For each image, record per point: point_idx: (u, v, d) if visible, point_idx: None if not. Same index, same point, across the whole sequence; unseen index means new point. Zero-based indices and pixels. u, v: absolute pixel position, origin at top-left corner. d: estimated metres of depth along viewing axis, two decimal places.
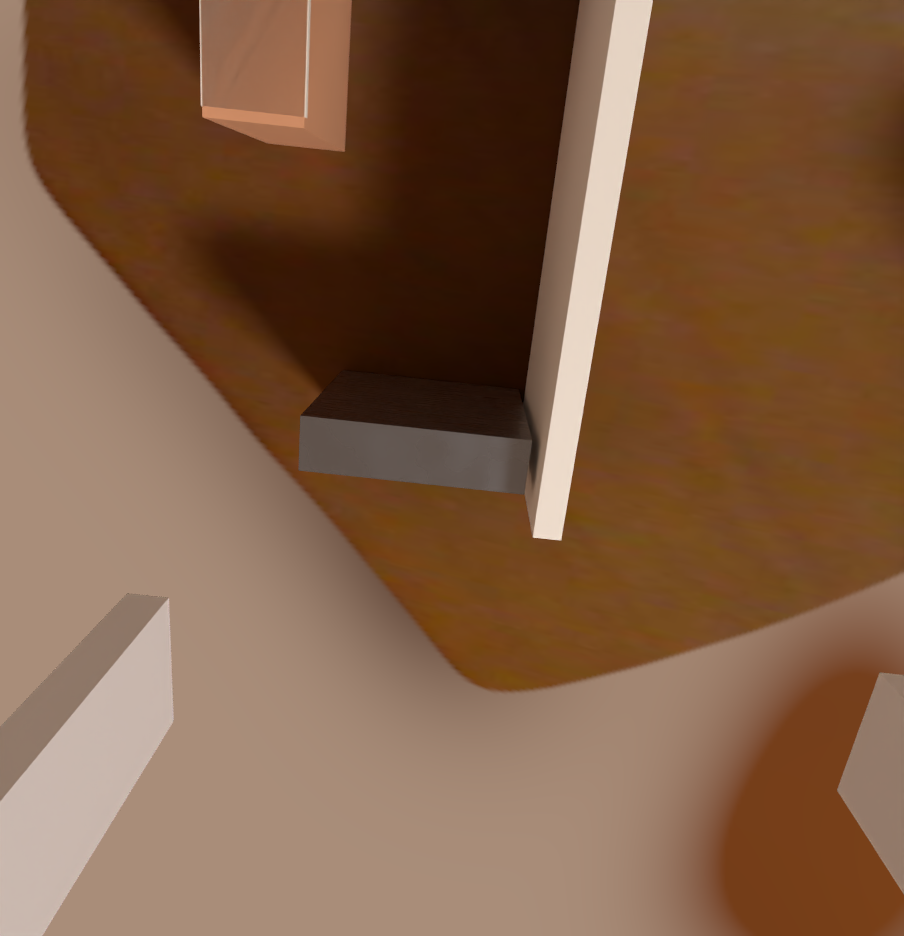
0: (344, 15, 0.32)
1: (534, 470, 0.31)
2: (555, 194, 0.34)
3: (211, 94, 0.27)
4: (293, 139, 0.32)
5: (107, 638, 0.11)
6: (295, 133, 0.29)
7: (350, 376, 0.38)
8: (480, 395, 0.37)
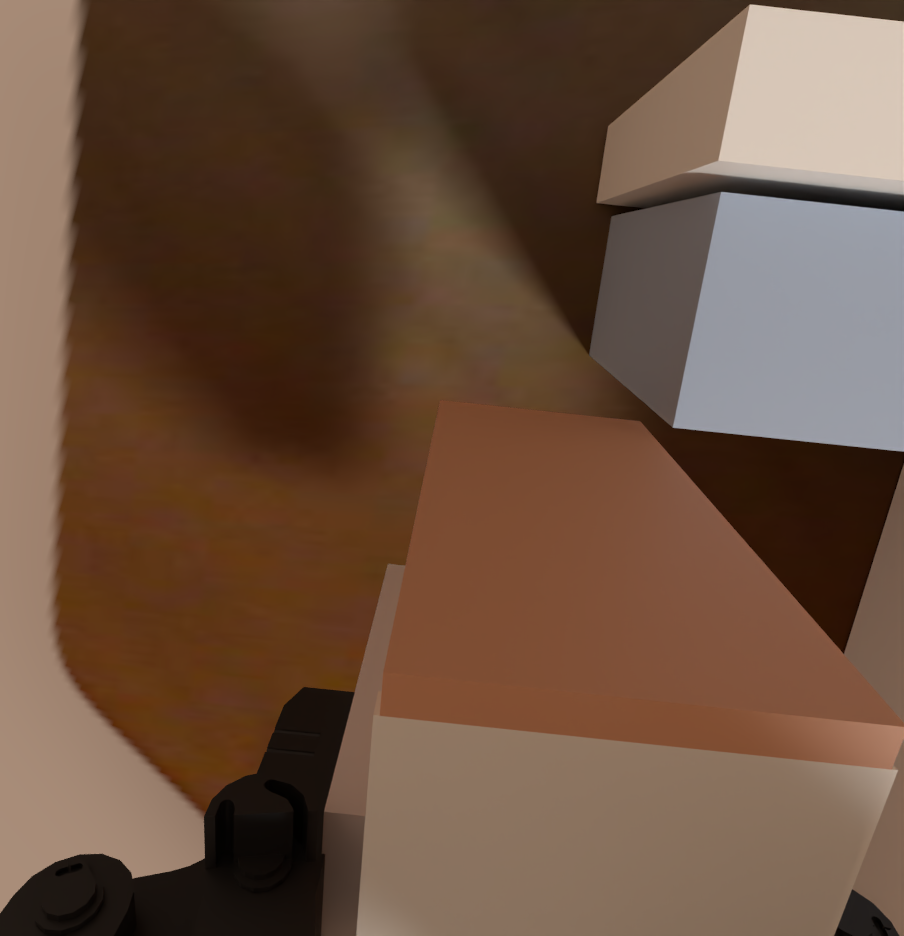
0: None
1: None
2: None
3: None
4: None
5: (396, 598, 0.13)
6: None
7: None
8: None
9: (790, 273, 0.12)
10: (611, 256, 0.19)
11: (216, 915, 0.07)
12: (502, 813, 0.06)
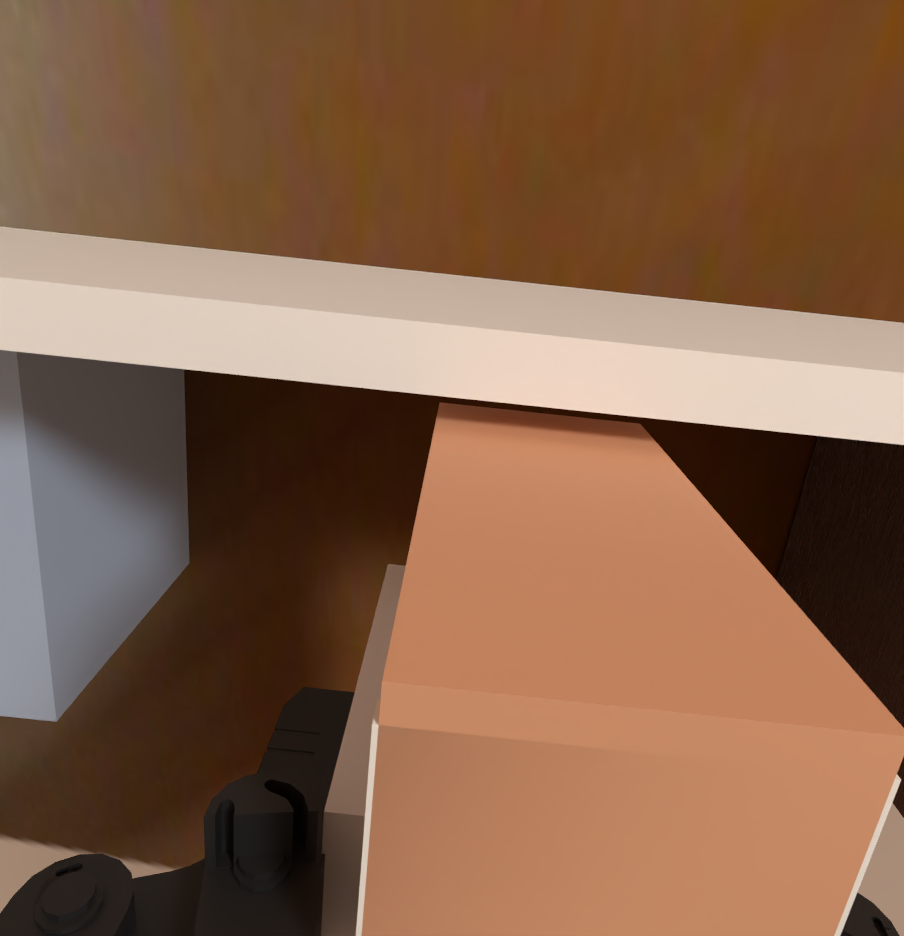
0: None
1: None
2: None
3: None
4: None
5: (396, 598, 0.13)
6: None
7: None
8: (859, 452, 0.21)
9: None
10: None
11: (216, 915, 0.07)
12: (502, 822, 0.06)
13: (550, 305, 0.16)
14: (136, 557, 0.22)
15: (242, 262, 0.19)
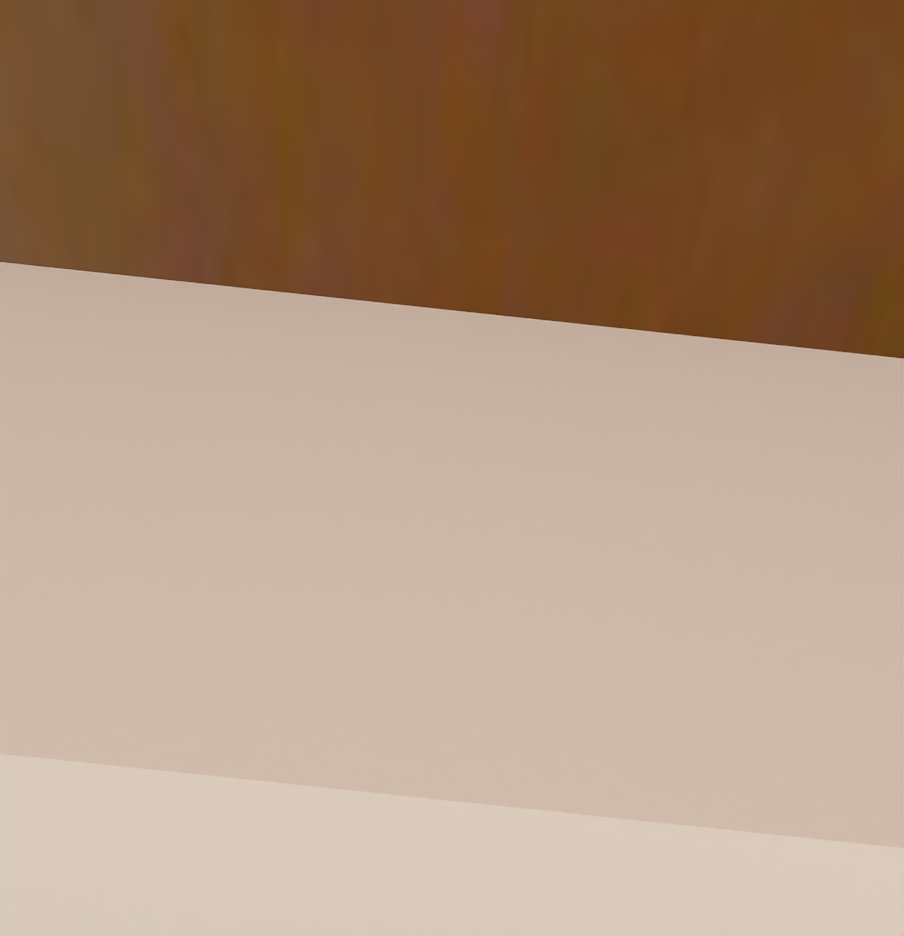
0: None
1: None
2: None
3: None
4: None
5: None
6: None
7: None
8: None
9: None
10: None
11: None
12: None
13: (666, 415, 0.07)
14: None
15: (25, 298, 0.10)
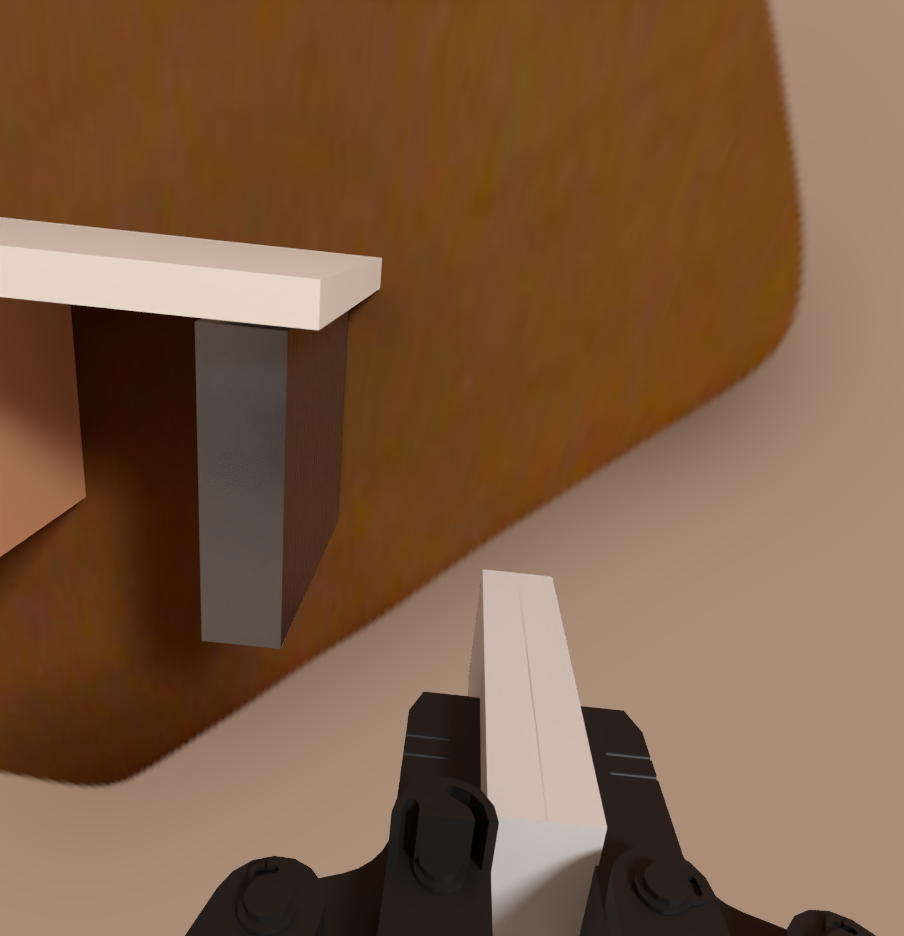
0: (54, 382, 0.28)
1: None
2: None
3: None
4: None
5: (500, 604, 0.13)
6: None
7: None
8: None
9: None
10: None
11: (398, 909, 0.07)
12: None
13: None
14: None
15: None
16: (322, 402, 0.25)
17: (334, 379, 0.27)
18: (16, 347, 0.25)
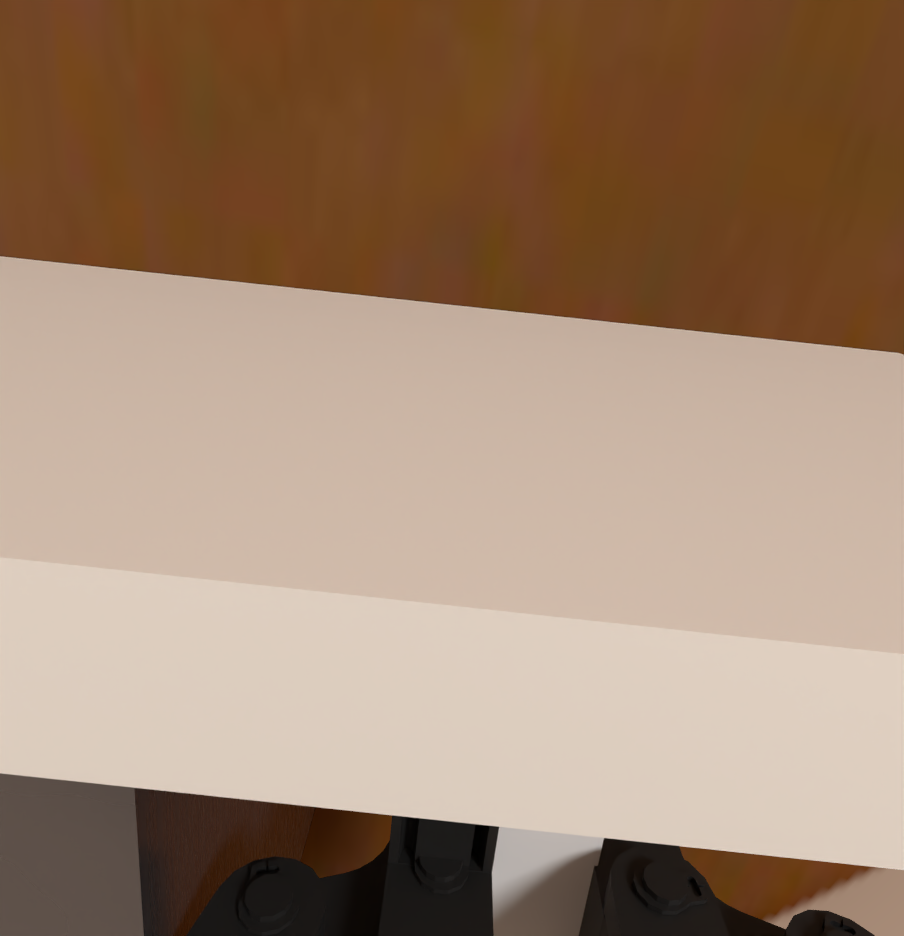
0: None
1: None
2: None
3: None
4: None
5: None
6: None
7: None
8: None
9: None
10: None
11: (400, 909, 0.07)
12: None
13: None
14: None
15: None
16: None
17: None
18: None
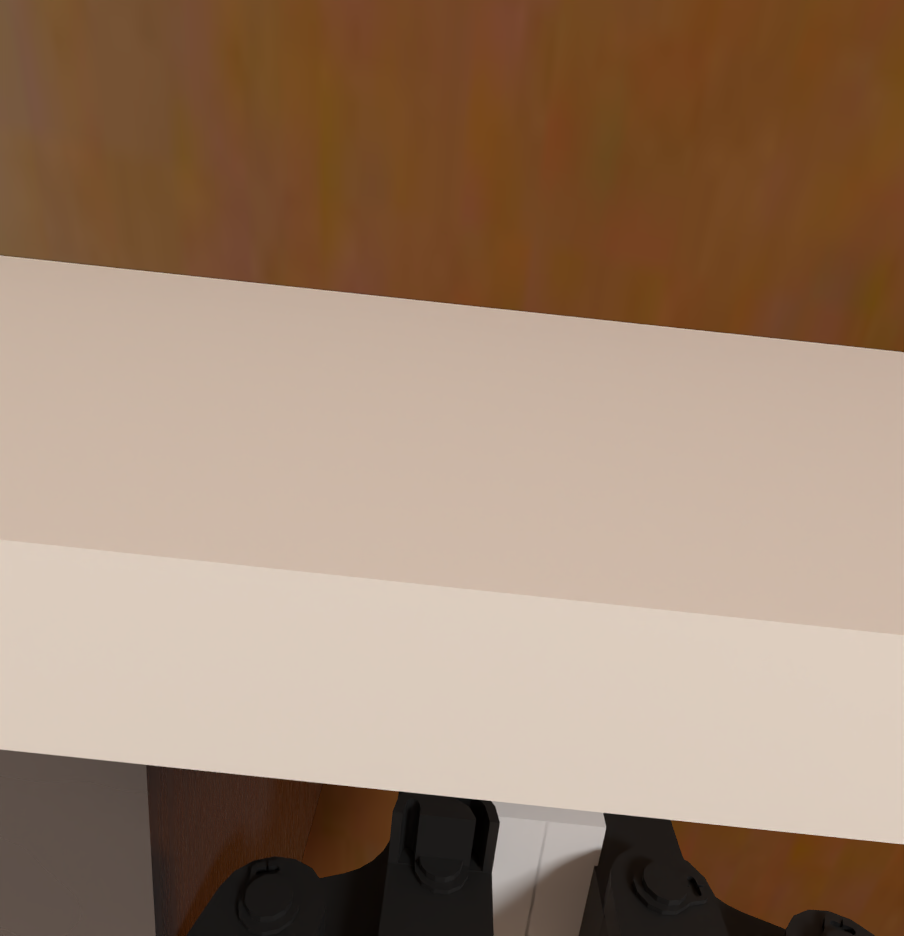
0: None
1: None
2: None
3: None
4: None
5: None
6: None
7: None
8: None
9: None
10: None
11: (400, 909, 0.07)
12: None
13: (681, 392, 0.08)
14: None
15: (107, 294, 0.11)
16: None
17: None
18: None
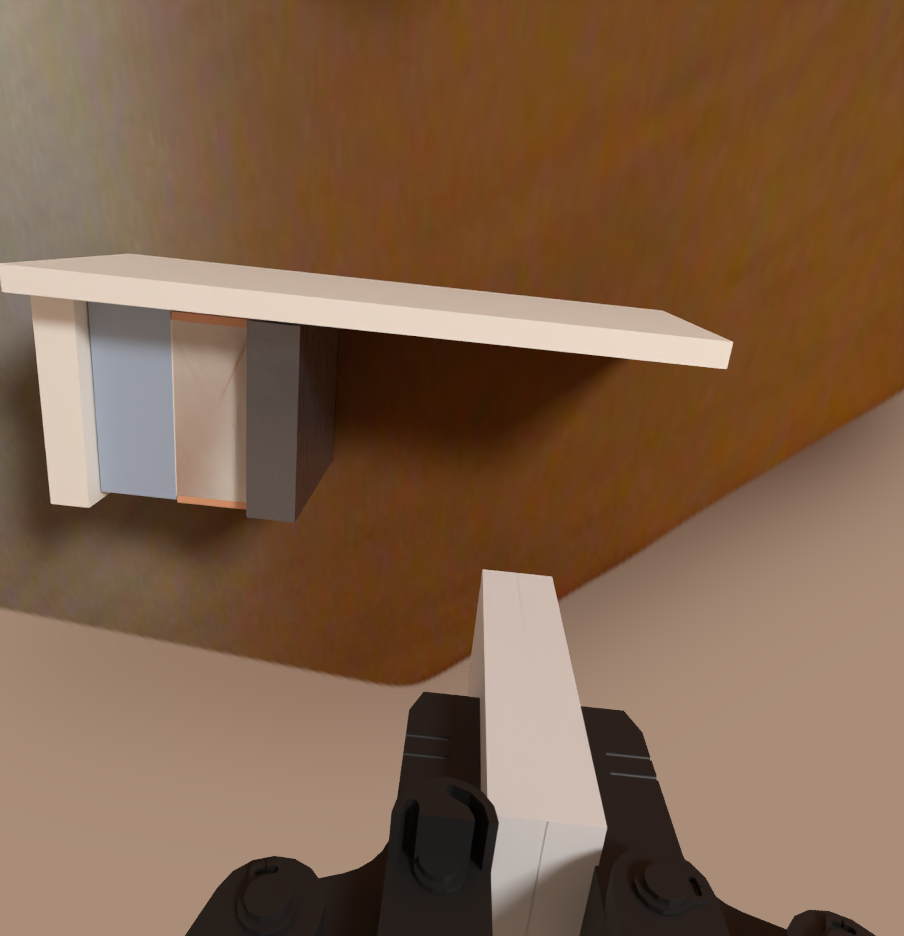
0: None
1: None
2: None
3: (184, 488, 0.36)
4: None
5: (500, 604, 0.13)
6: None
7: None
8: None
9: (121, 468, 0.36)
10: None
11: (398, 909, 0.07)
12: (193, 339, 0.34)
13: (415, 295, 0.35)
14: None
15: (270, 275, 0.38)
16: (321, 373, 0.38)
17: (329, 359, 0.40)
18: None
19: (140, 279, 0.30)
